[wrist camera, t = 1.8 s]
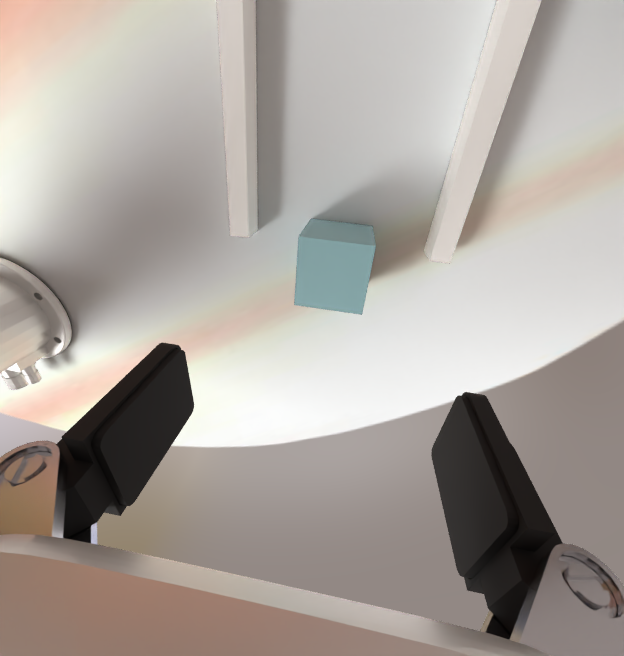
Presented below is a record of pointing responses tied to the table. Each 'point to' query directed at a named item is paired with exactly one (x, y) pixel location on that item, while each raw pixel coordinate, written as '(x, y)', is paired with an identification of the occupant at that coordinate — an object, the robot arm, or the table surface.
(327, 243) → the block
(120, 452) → the robot arm
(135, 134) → the table surface
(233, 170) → the guide channel
